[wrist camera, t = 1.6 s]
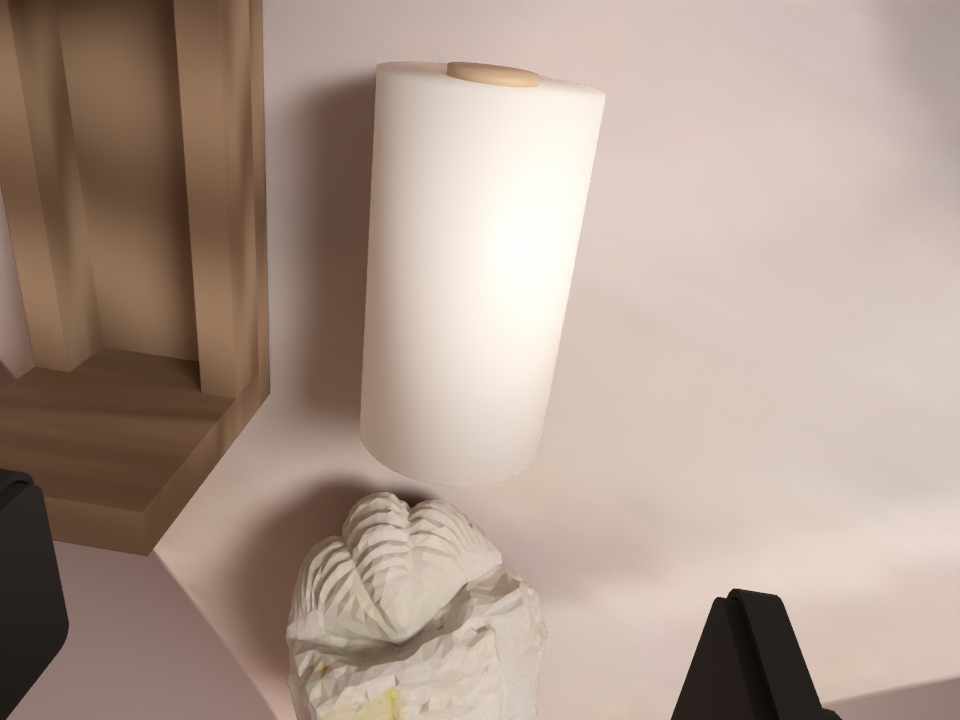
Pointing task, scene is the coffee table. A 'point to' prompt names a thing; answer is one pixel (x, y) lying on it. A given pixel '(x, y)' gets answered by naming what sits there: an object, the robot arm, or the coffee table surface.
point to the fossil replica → (412, 621)
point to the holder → (133, 253)
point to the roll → (470, 263)
